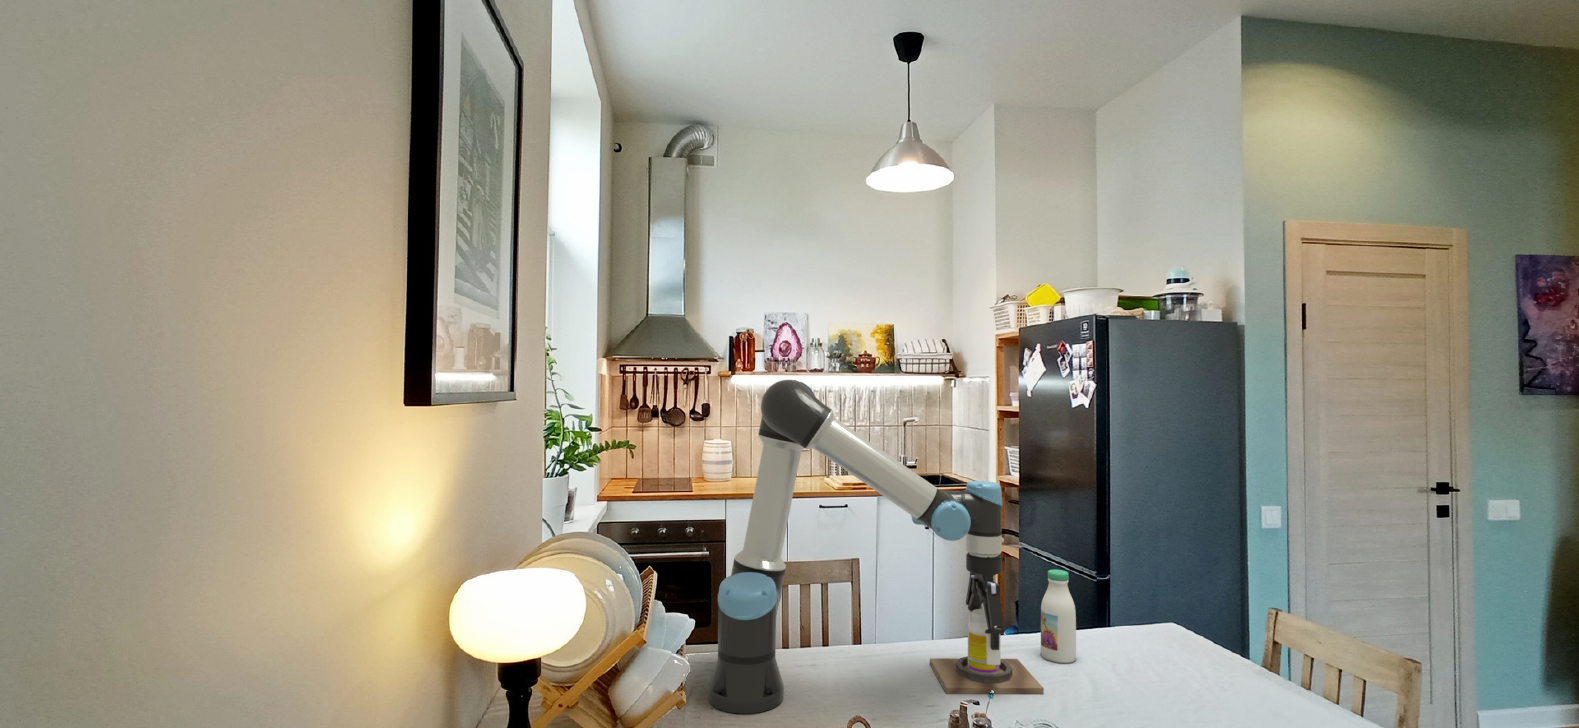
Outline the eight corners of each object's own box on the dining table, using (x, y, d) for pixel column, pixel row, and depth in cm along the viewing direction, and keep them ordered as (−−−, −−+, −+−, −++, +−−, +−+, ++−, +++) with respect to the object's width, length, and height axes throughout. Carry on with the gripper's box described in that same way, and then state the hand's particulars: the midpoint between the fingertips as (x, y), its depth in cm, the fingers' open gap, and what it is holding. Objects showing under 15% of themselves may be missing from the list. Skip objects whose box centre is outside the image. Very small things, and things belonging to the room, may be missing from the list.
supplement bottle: (1000, 679, 151) (1000, 618, 152) (968, 676, 152) (968, 615, 153) (998, 667, 158) (998, 608, 158) (967, 665, 159) (967, 606, 159)
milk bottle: (1070, 652, 171) (1070, 567, 171) (1080, 664, 163) (1080, 576, 164) (1037, 651, 171) (1037, 566, 172) (1045, 663, 164) (1045, 575, 164)
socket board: (946, 693, 147) (946, 680, 147) (929, 663, 163) (929, 651, 163) (1043, 694, 147) (1043, 680, 147) (1017, 664, 163) (1017, 652, 163)
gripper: (1020, 567, 143) (1020, 675, 143) (984, 541, 168) (984, 632, 168) (983, 567, 143) (983, 675, 142) (952, 540, 168) (952, 632, 167)
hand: (983, 652), depth 155 cm, fingers open, 13 cm apart
